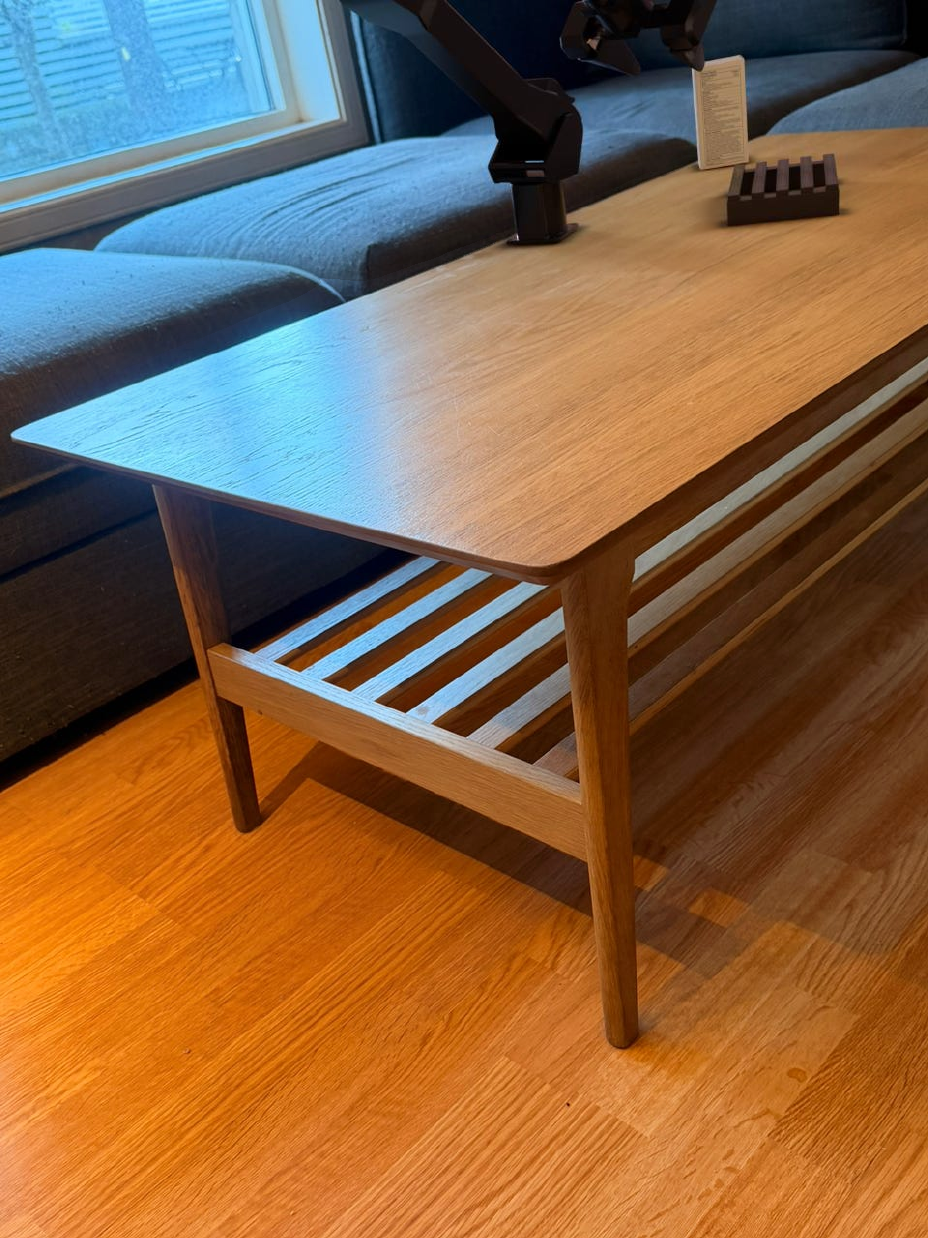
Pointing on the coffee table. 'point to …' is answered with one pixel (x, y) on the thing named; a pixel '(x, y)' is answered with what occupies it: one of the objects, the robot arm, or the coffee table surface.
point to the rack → (783, 191)
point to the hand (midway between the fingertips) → (669, 70)
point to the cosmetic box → (721, 113)
